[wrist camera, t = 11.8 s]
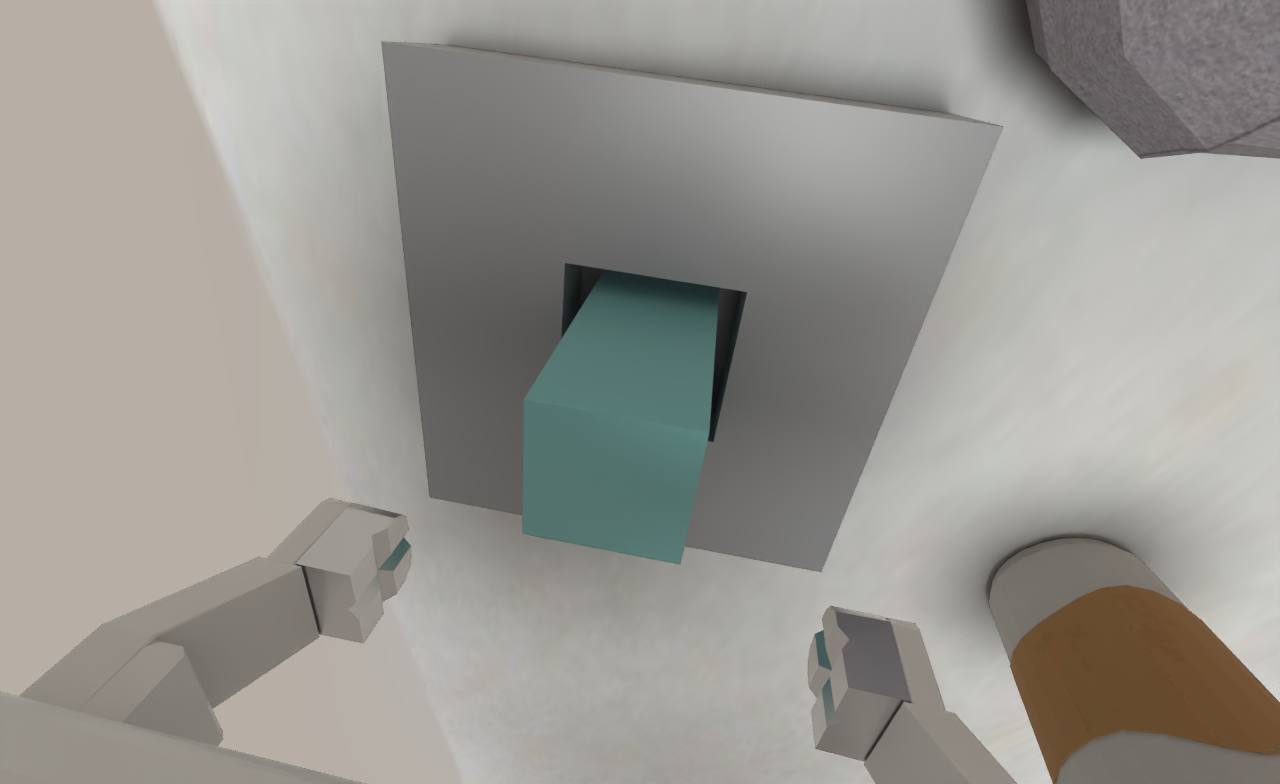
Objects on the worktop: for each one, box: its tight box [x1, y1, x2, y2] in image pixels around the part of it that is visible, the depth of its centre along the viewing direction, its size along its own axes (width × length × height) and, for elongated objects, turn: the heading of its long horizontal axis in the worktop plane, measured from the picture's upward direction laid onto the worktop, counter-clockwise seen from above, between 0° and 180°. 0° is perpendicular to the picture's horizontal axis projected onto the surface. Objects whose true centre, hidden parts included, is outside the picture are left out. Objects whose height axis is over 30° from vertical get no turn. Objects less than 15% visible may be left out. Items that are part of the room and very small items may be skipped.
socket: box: [381, 41, 1003, 572], centre depth 20 cm, size 16×16×4 cm
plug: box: [523, 269, 719, 564], centre depth 17 cm, size 4×4×9 cm
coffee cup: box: [989, 538, 1280, 784], centre depth 19 cm, size 8×8×15 cm
